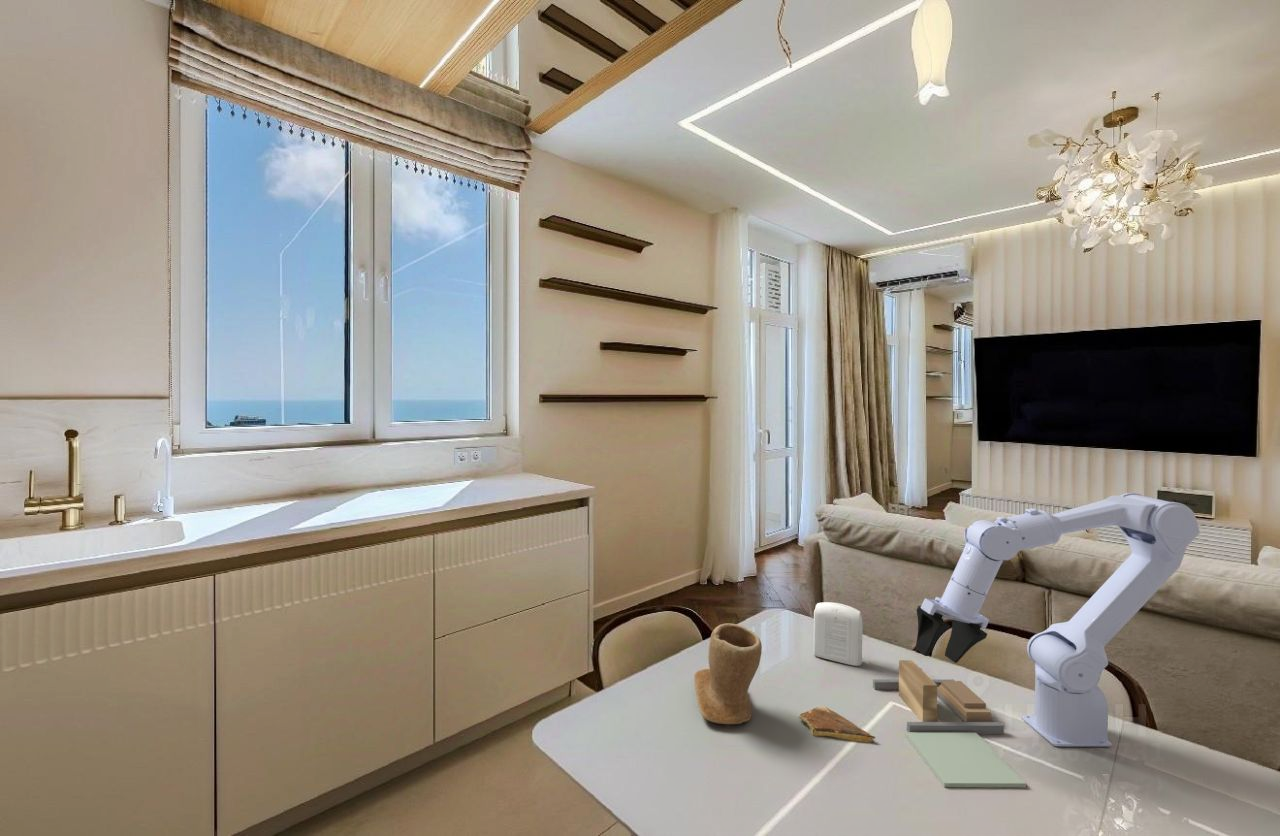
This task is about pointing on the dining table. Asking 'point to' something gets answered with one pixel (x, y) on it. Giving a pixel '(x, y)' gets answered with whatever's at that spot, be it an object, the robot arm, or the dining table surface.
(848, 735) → the shard
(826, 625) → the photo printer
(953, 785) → the sage mat
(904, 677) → the oak block
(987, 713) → the offcut rack
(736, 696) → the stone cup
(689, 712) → the dining table surface
